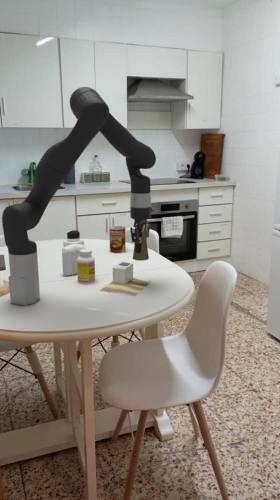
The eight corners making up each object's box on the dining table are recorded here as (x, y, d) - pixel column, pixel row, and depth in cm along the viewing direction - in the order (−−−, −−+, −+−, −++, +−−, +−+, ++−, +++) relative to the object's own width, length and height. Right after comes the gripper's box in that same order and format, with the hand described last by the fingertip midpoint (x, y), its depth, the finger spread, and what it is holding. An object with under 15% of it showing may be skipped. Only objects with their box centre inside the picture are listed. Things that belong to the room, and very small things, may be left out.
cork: (143, 261, 148) (143, 231, 145) (129, 259, 151) (129, 229, 148) (151, 257, 153) (152, 228, 150) (138, 255, 156) (138, 227, 153)
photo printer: (84, 270, 174) (83, 241, 170) (88, 272, 170) (87, 243, 167) (61, 274, 168) (59, 245, 165) (65, 277, 165) (64, 247, 161)
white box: (124, 284, 154) (124, 268, 153) (112, 282, 156) (112, 266, 155) (133, 278, 161) (133, 262, 160) (121, 276, 163) (121, 261, 162)
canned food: (107, 252, 201) (106, 228, 198) (113, 248, 208) (112, 225, 205) (122, 253, 199) (122, 229, 196) (127, 249, 206) (127, 226, 203)
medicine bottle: (84, 254, 197) (83, 230, 194) (74, 258, 191) (73, 233, 188) (73, 252, 201) (72, 228, 198) (63, 255, 195) (62, 231, 192)
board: (134, 297, 143) (134, 295, 143) (99, 292, 148) (99, 290, 148) (152, 282, 158) (152, 281, 158) (119, 278, 163) (119, 276, 163)
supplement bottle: (90, 286, 154) (89, 253, 151) (74, 284, 156) (73, 251, 153) (98, 280, 160) (97, 249, 157) (83, 278, 162) (82, 247, 159)
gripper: (142, 208, 139) (142, 257, 144) (157, 203, 152) (156, 247, 156) (122, 207, 142) (123, 255, 147) (138, 202, 155) (138, 246, 159)
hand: (140, 251), depth 151 cm, fingers closed on cork, 4 cm apart
